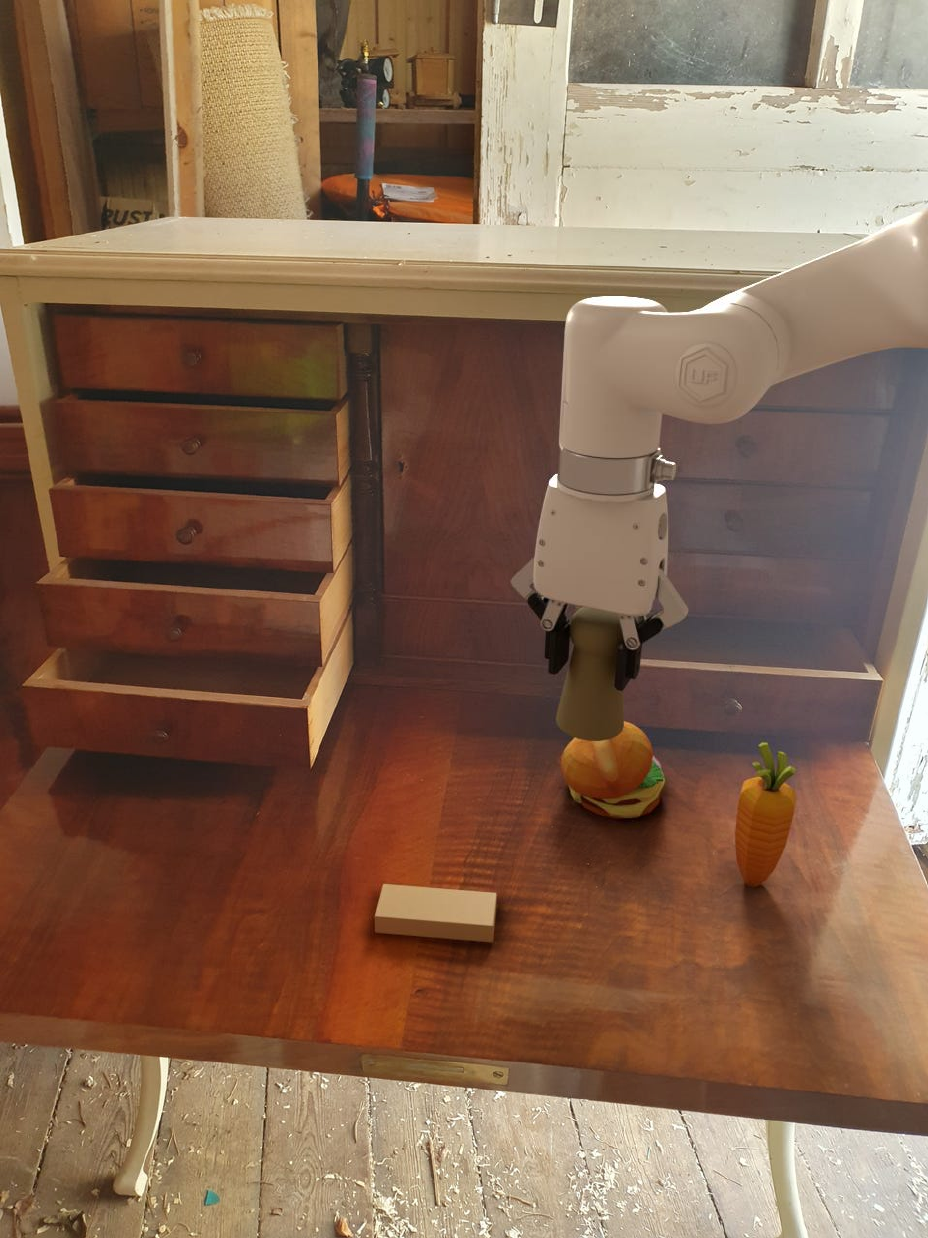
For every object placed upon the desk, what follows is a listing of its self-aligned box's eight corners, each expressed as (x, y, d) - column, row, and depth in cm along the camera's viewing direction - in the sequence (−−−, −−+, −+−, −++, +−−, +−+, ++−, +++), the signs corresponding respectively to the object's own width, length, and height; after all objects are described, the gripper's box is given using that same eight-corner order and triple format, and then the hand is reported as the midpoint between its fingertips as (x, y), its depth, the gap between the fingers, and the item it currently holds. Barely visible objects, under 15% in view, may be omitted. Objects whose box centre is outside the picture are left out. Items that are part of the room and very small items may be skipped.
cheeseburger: (689, 799, 99) (685, 728, 94) (617, 860, 95) (609, 790, 89) (617, 754, 106) (609, 685, 101) (547, 809, 102) (535, 740, 96)
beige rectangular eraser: (496, 914, 85) (496, 892, 83) (492, 948, 81) (493, 926, 80) (383, 905, 85) (383, 883, 84) (375, 938, 82) (374, 916, 81)
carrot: (786, 907, 86) (815, 767, 79) (731, 906, 86) (755, 767, 79) (770, 869, 90) (796, 734, 84) (717, 869, 90) (739, 734, 84)
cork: (553, 737, 83) (564, 624, 78) (557, 700, 89) (567, 592, 84) (624, 744, 83) (639, 631, 78) (623, 707, 88) (637, 599, 83)
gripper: (729, 470, 73) (701, 678, 81) (522, 441, 80) (515, 636, 88) (706, 499, 67) (678, 721, 75) (484, 465, 74) (480, 672, 82)
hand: (590, 673), depth 81 cm, fingers closed on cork, 5 cm apart
